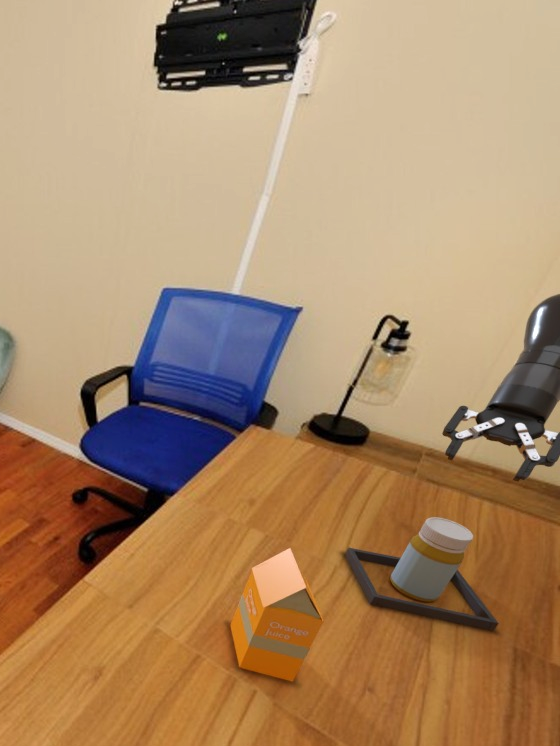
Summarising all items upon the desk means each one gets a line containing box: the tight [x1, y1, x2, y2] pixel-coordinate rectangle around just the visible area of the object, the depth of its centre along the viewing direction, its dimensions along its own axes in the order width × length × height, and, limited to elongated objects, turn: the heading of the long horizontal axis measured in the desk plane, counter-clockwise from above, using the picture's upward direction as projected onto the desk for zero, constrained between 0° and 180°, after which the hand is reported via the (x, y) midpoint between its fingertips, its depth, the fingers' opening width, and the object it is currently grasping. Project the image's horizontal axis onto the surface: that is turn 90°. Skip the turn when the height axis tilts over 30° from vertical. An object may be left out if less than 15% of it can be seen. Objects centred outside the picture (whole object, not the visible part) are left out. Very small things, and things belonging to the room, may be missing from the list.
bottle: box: [389, 516, 474, 603], centre depth 93 cm, size 7×7×15 cm
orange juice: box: [230, 547, 325, 682], centre depth 81 cm, size 8×9×20 cm
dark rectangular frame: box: [344, 547, 499, 632], centre depth 96 cm, size 18×14×3 cm
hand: (482, 468), depth 91 cm, fingers open, 8 cm apart
